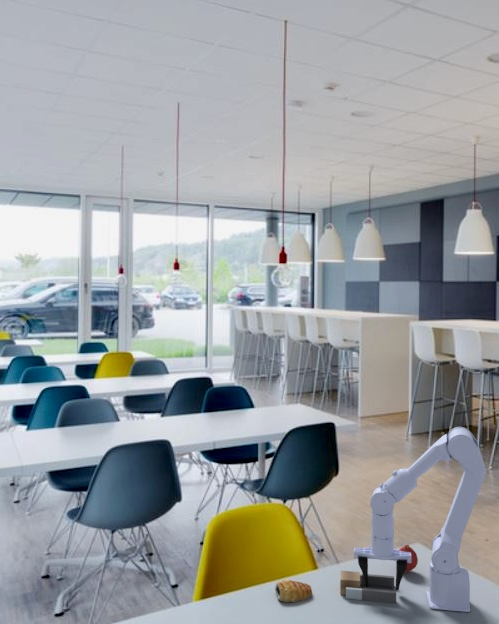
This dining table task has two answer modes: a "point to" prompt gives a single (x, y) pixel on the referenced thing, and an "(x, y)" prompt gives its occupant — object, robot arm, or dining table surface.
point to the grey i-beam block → (374, 589)
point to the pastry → (292, 591)
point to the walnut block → (349, 580)
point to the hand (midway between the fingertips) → (382, 586)
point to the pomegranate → (413, 557)
